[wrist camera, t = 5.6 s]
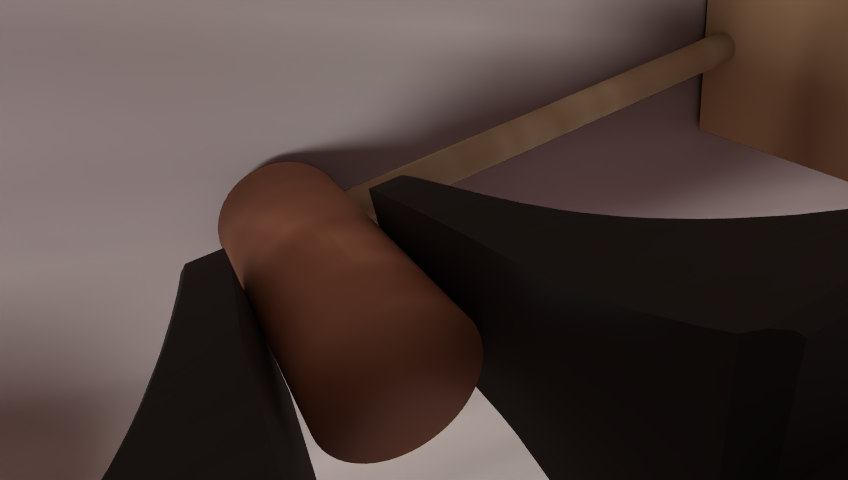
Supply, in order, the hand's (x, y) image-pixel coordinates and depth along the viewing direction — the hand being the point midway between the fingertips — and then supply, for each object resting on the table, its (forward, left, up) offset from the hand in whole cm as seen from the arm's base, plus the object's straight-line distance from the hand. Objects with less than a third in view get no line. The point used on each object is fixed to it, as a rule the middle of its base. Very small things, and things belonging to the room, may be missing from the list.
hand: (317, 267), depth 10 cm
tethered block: (-4, -6, -2) cm, 7 cm away
